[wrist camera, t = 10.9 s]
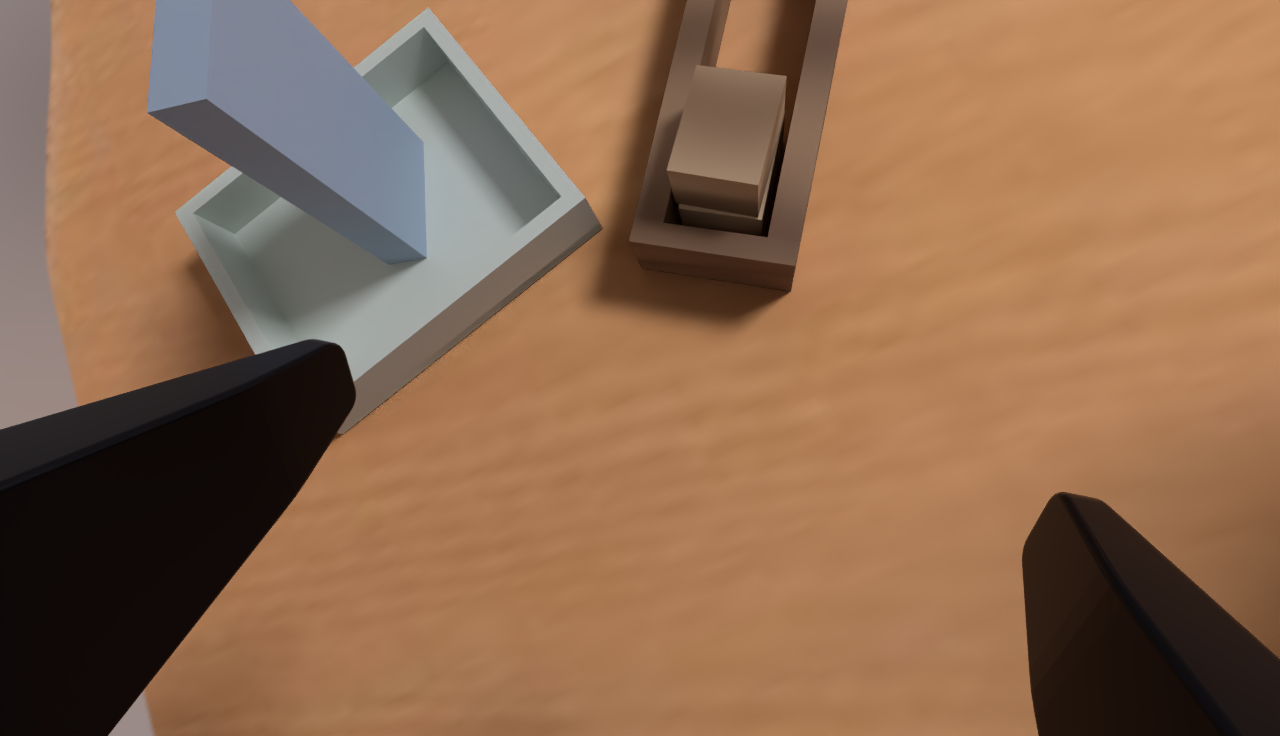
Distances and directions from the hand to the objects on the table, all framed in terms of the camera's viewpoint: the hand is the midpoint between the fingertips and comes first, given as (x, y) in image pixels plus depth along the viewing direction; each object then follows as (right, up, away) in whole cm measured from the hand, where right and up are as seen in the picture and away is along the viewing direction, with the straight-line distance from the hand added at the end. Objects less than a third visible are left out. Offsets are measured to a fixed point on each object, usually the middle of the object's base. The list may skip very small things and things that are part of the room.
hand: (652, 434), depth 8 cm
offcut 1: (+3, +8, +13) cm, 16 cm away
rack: (+4, +12, +16) cm, 20 cm away
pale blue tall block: (-9, +7, +17) cm, 21 cm away
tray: (-10, +6, +17) cm, 21 cm away
